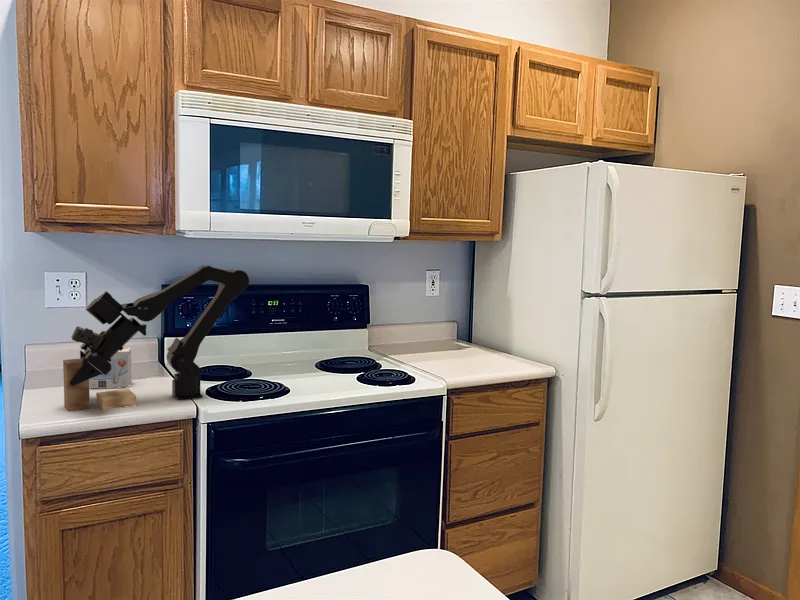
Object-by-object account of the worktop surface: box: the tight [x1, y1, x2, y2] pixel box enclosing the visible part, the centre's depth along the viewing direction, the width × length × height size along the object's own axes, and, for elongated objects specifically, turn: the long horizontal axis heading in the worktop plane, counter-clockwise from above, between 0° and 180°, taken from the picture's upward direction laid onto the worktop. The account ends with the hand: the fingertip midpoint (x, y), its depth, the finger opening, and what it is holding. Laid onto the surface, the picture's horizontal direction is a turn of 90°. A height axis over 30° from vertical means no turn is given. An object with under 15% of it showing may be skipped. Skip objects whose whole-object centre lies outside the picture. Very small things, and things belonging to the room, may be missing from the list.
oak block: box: [95, 388, 137, 411], centre depth 167 cm, size 8×8×3 cm
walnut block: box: [62, 357, 91, 412], centre depth 162 cm, size 5×5×12 cm
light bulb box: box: [89, 346, 133, 390], centre depth 185 cm, size 11×7×11 cm, turn 105°
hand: (70, 382), depth 162 cm, fingers closed on walnut block, 5 cm apart
